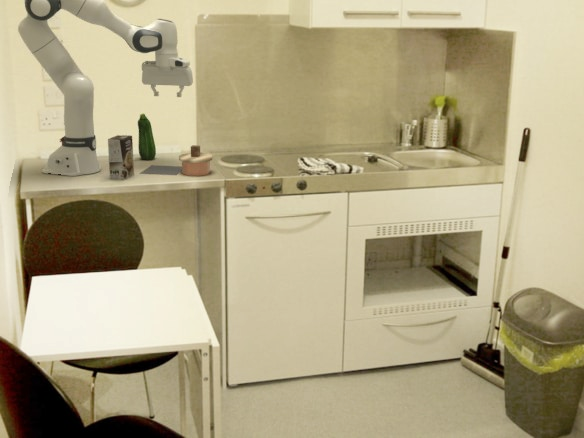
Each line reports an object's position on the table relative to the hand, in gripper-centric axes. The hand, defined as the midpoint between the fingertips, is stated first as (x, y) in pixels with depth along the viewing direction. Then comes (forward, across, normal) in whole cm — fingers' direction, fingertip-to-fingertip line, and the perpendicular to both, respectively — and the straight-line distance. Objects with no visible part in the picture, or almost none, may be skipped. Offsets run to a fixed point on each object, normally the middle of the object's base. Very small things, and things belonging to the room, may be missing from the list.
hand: (167, 96), depth 300 cm
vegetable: (+29, -13, +10) cm, 33 cm away
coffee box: (+29, -12, -23) cm, 39 cm away
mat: (+29, 0, -9) cm, 30 cm away
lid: (+23, +14, -11) cm, 29 cm away
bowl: (+29, +14, -11) cm, 34 cm away
